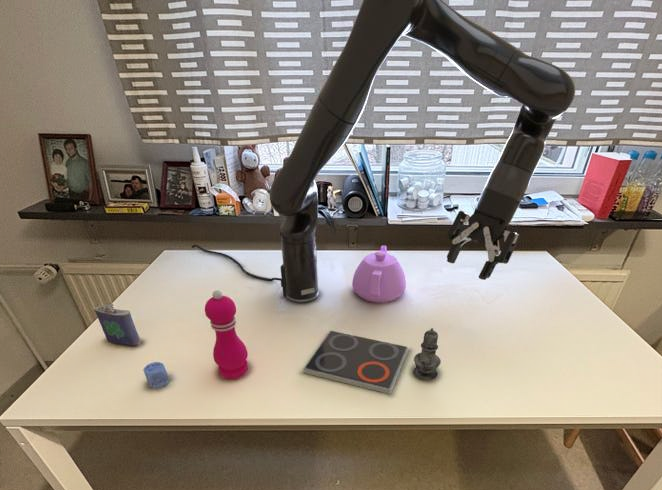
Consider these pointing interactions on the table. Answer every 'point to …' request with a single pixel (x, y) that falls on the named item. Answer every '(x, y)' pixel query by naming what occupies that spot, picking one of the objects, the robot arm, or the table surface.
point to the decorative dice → (156, 374)
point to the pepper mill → (226, 337)
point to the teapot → (379, 277)
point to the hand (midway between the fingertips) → (465, 270)
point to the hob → (357, 361)
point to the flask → (117, 326)
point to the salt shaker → (427, 357)
